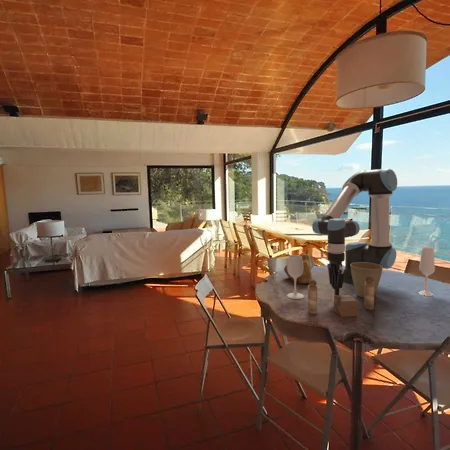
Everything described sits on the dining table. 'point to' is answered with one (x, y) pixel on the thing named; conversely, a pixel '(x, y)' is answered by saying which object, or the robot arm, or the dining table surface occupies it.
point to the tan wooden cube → (345, 305)
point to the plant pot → (365, 275)
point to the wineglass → (295, 273)
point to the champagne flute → (427, 266)
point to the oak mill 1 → (312, 297)
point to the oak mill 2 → (369, 293)
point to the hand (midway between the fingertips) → (335, 301)
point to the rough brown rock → (306, 273)
